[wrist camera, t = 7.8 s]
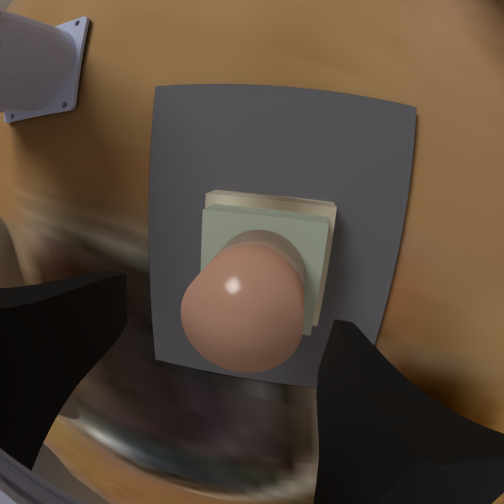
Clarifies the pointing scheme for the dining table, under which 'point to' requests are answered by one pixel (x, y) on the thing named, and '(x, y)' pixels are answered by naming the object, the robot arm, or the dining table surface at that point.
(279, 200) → the birch slab
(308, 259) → the sage slab
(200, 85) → the charcoal mat
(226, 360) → the rounded pink dome
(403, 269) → the dining table surface
